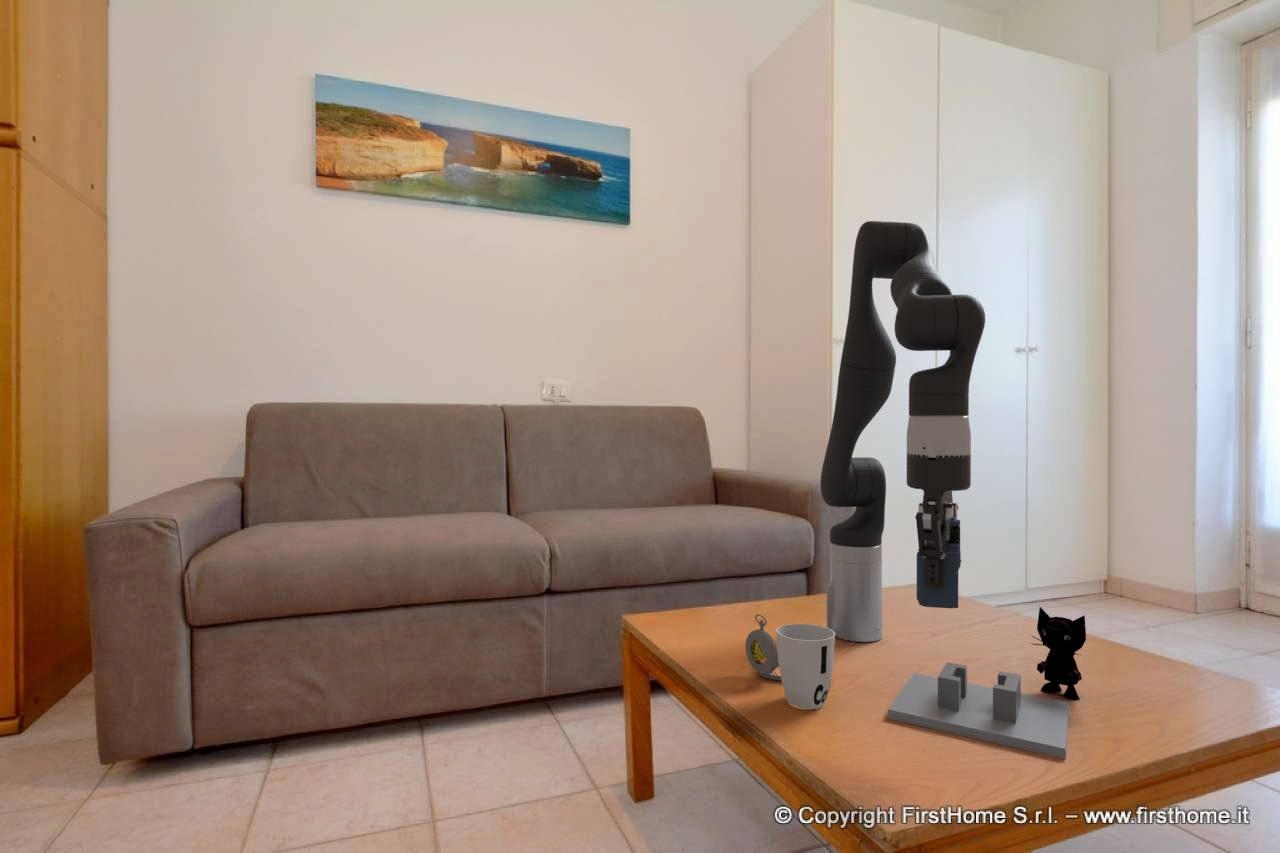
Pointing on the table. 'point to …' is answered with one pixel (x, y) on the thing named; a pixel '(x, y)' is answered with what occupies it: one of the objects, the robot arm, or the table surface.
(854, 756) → the table surface
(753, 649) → the pocket watch
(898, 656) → the table surface
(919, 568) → the vaping device
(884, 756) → the table surface
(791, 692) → the cup
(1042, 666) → the cat figurine
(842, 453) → the robot arm
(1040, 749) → the dock
